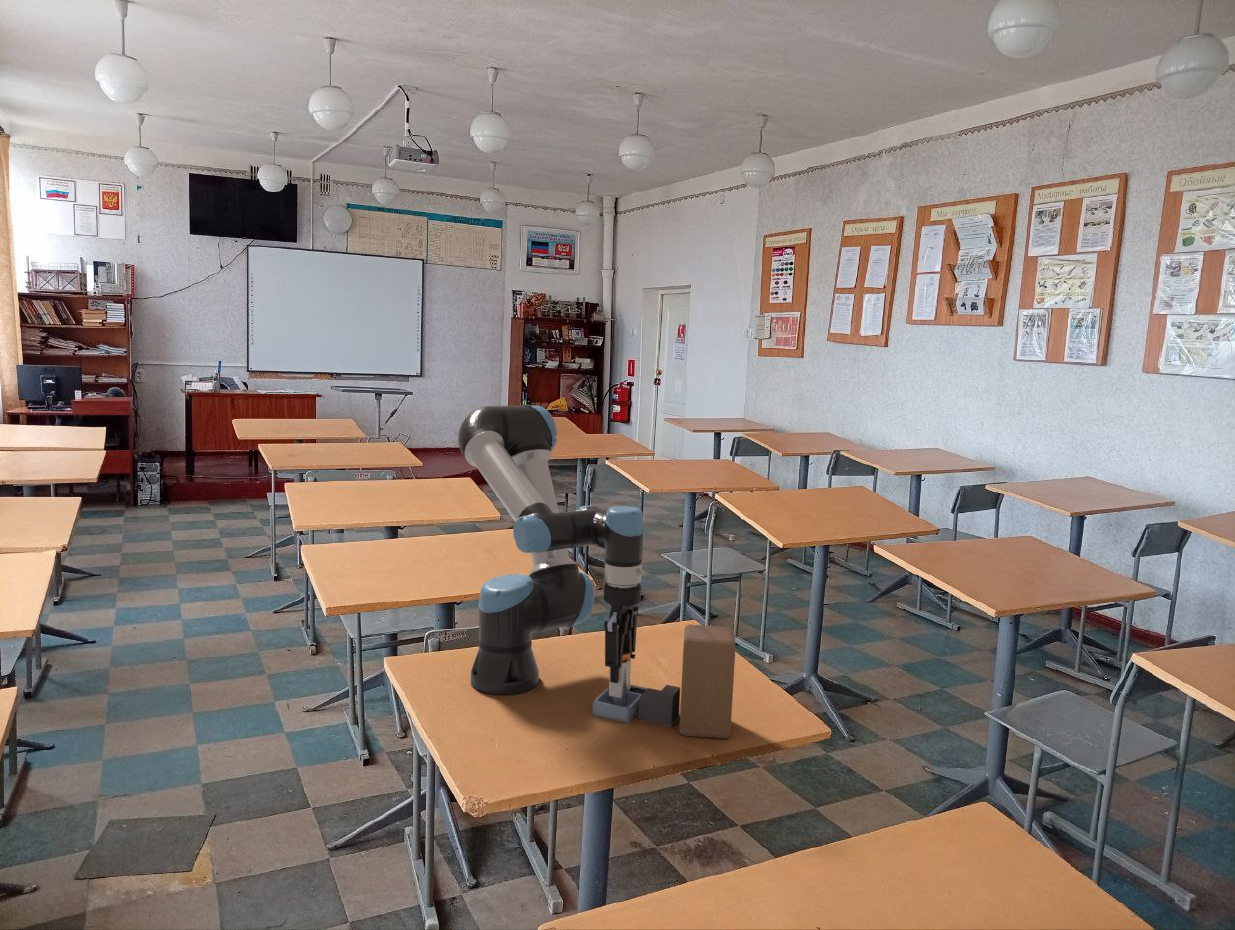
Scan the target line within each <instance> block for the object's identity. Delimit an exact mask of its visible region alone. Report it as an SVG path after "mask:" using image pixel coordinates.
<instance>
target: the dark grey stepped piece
mask: <svg viewBox="0 0 1235 930" xmlns="http://www.w3.org/2000/svg"><path fill="white" fill-rule="evenodd" d="M647 688H648V689H647V690H646V691H645V692H644V693H643V694H642V695H641V696H640V699H639V712H638V720H639V721H642V722H649V723H653V724H656V725H657V724H658V725H661V726H665V727H666V726H667V727H672V726H673V725H674V724H675V723H676V721H677V720H678V719H679V718H680V705H681V687H680V686H676V685H669V684H665V686H663V688H662V689H661V690H660V689H655V688H650V687H647Z"/></svg>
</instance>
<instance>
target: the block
mask: <svg viewBox="0 0 1235 930" xmlns="http://www.w3.org/2000/svg"><path fill="white" fill-rule="evenodd" d="M735 637H736V636H735V630H734V628H732V627H730V626H721V625H720V626H718V625H716V626H715V625H705V624H704V625H702V624H686V626H685V627H684V634H683V646H682V647H683V651H682V671H681V687H680V707H679V729H678V730H679V733H680V734H681V735H683V736H687V737H688V736H690V737H701V738H713V739H716V738H717V739H728V738H729V737H730V736H731V730H732V728H731V727H732V713H733V696H734V695H733V693H734V679H735V665H736V664H735V662H736V661H735V660H736V648H737V647H736V638H735Z"/></svg>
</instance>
